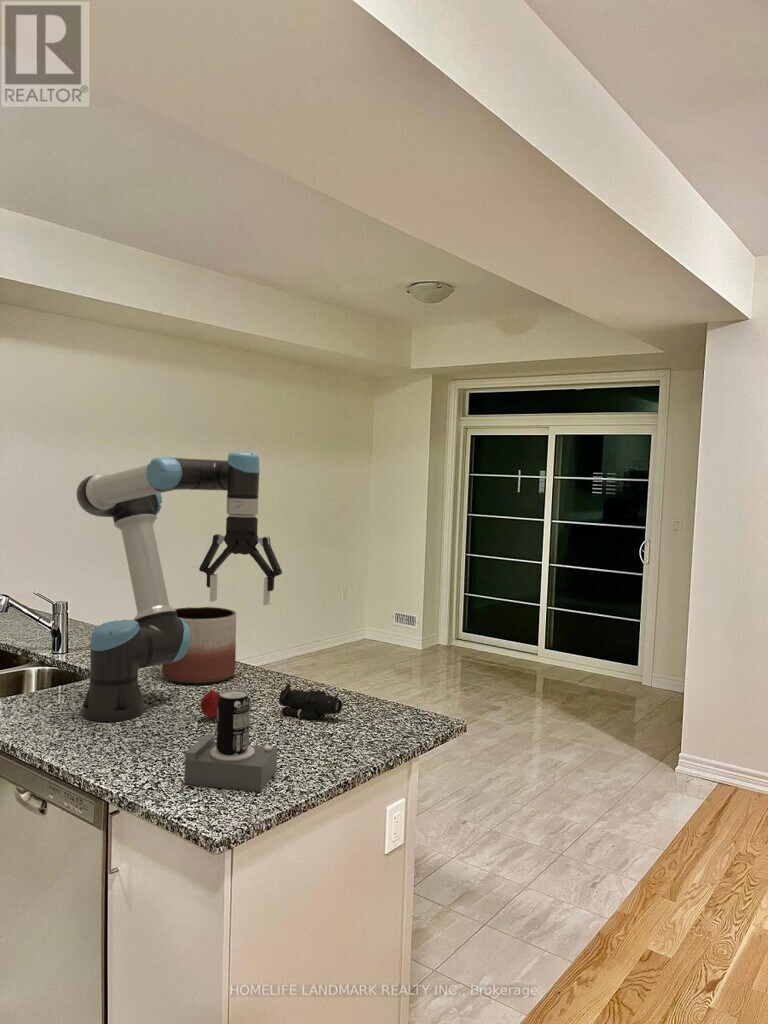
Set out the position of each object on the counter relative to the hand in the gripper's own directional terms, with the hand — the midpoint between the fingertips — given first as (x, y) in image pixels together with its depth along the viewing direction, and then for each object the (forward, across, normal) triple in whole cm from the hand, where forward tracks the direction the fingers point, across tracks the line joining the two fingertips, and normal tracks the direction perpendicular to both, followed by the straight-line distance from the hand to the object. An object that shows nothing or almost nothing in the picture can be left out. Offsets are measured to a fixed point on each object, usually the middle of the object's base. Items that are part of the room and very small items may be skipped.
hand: (239, 602), depth 184 cm
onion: (+32, -9, +7) cm, 34 cm away
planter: (+32, -28, +45) cm, 62 cm away
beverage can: (+26, +9, -28) cm, 39 cm away
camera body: (+32, +9, -28) cm, 43 cm away
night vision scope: (+32, +14, +16) cm, 39 cm away
